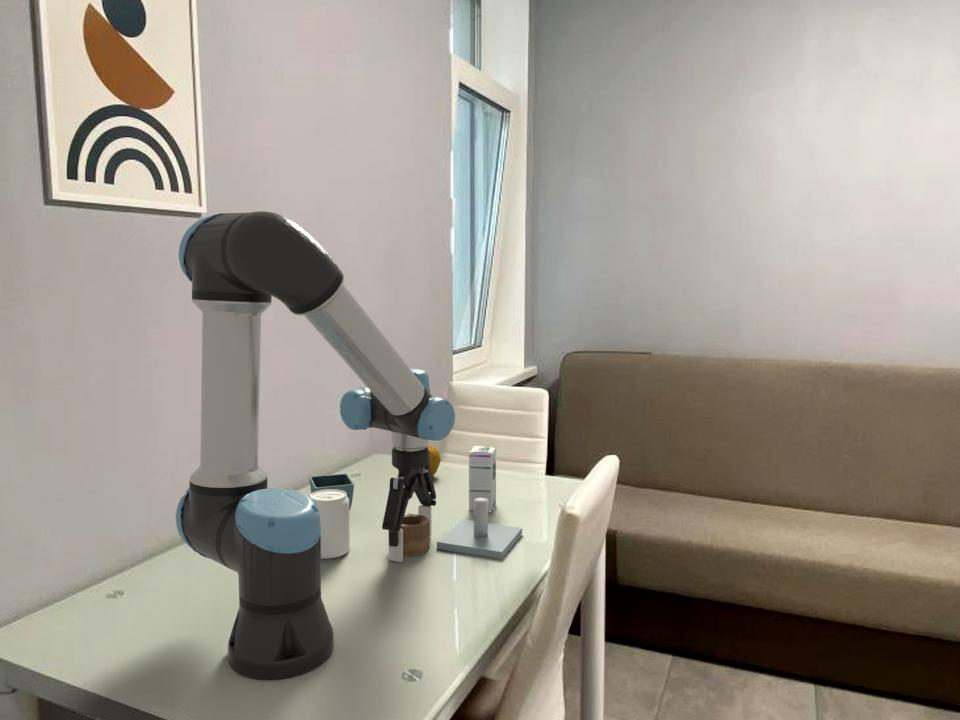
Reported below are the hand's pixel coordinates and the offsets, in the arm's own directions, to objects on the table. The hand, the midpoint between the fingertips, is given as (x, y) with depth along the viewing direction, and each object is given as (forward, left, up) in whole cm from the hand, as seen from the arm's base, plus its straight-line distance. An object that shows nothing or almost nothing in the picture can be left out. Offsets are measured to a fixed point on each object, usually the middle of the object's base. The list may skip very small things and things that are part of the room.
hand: (411, 547), depth 144 cm
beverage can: (-8, +14, 0) cm, 16 cm away
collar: (0, 0, 0) cm, 0 cm away
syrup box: (+29, -5, 0) cm, 29 cm away
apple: (+46, +18, 0) cm, 49 cm away
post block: (+9, -12, 0) cm, 15 cm away
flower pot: (+9, +24, 0) cm, 26 cm away
